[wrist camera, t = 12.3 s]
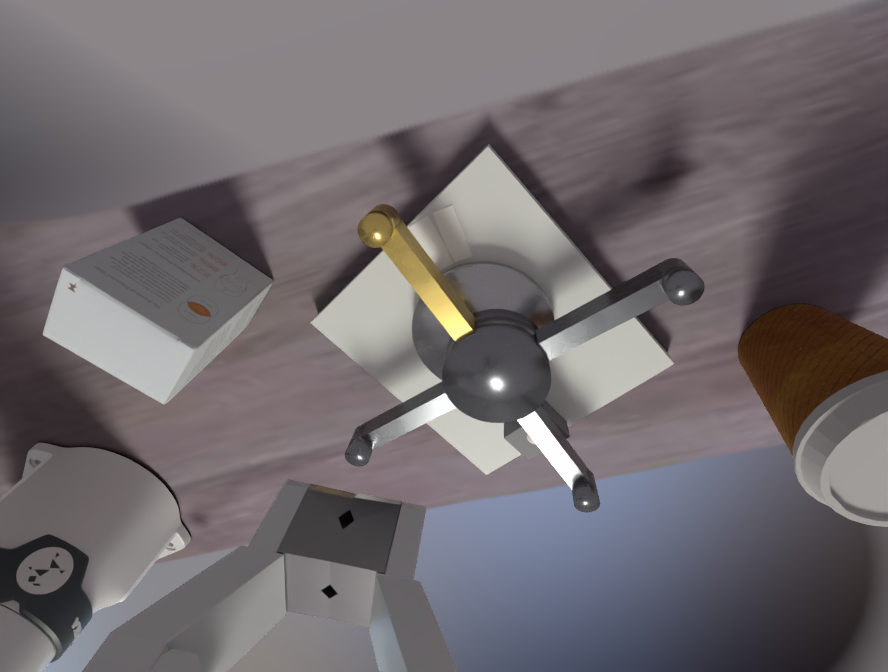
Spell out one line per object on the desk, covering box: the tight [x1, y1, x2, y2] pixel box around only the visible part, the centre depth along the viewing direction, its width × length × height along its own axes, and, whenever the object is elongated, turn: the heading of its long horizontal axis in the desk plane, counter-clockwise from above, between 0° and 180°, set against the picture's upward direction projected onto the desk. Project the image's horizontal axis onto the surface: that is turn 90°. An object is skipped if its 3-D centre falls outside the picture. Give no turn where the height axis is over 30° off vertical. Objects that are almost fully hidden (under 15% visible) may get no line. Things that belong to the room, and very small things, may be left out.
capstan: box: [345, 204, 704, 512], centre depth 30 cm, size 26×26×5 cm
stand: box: [311, 144, 674, 475], centre depth 33 cm, size 18×20×4 cm
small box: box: [43, 218, 273, 404], centre depth 30 cm, size 8×6×10 cm
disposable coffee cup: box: [738, 304, 888, 527], centre depth 27 cm, size 10×10×12 cm
